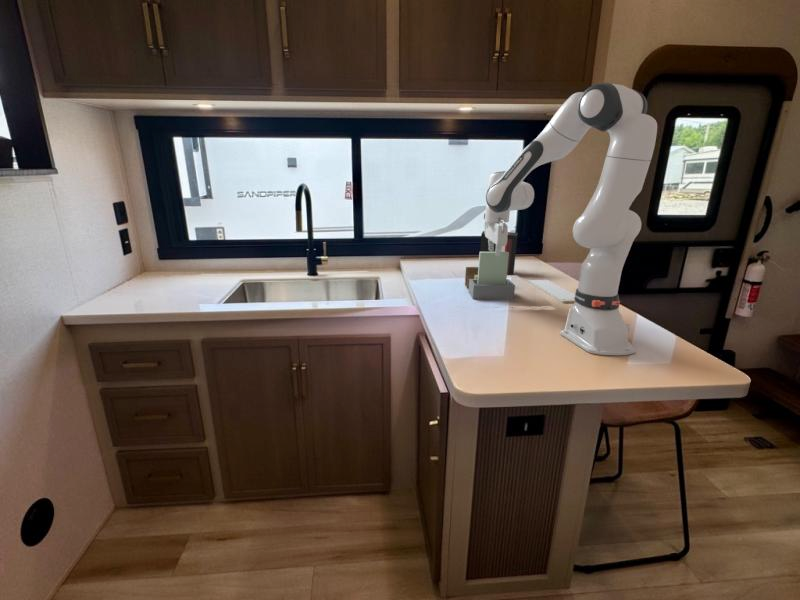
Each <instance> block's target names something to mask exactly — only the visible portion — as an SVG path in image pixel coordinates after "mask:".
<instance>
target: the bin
mask: <svg viewBox="0 0 800 600" xmlns="http://www.w3.org/2000/svg"><path fill="white" fill-rule="evenodd" d="M477 280H478V279H469V291H468V290H467V292H468V294H469V295H470V297H471V298H472V300H514V299H515V290H516V284H515V283H513V282H512V280H510V278H509V279H507V278H506V285H477Z"/></svg>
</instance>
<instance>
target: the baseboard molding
mask: <svg viewBox="0 0 800 600" xmlns="http://www.w3.org/2000/svg"><path fill="white" fill-rule="evenodd" d="M550 281H551V280H548V279H529V280H528V283H529V282H530V283H529V284H531V283H532V284H531V285H533V286H534V285H535V286H534V287H536V288H538V289H539V288H540V289H539V290H541V289H542V290H543V292H544V291H545V292H544V293H546V292H547V293H548V295H549V294H550V295H551V297H552V296H553V297H552V298H554V299H555V298H556V299H555V300H557V301H558V302H560V301H561V302H560V303H561V304H562V303H563V304H574V303H575V293H574V292H572V291H570V290H568V289H566V288H564V287H562V286H561V285H559V286H558V284H557V283H555V282H553V281H551V282H550ZM552 282H553V283H552ZM554 283H555V284H554ZM556 284H557V285H556ZM560 286H561V287H562V288H561V287H560ZM563 288H564V289H563ZM565 289H566V290H565ZM542 290H541V291H542ZM567 290H568V291H567ZM547 293H546V294H547ZM550 295H549V296H550Z"/></svg>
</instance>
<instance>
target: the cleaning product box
mask: <svg viewBox="0 0 800 600" xmlns="http://www.w3.org/2000/svg"><path fill="white" fill-rule="evenodd" d="M518 234H519V233H518V232H508V235H507V244H506V245H505V246H502V249H501V252H509V257H508V268H507V276H514V272H515V263H516V253H517V243H518ZM479 249H480V251H479V252H495V250H496V244H495V243H494V251H489V244H488V238H486V237H485V230H483V231H482V232H481V238H480V248H479Z"/></svg>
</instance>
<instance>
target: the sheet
mask: <svg viewBox="0 0 800 600" xmlns="http://www.w3.org/2000/svg"><path fill="white" fill-rule="evenodd" d="M508 257H509V252H500V256H496V255H495V252H480V251H479V254H478V266H477V267H478V280H477V285H506V279H507V278H508V277H507V276H508V275H507V268H508Z"/></svg>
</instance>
